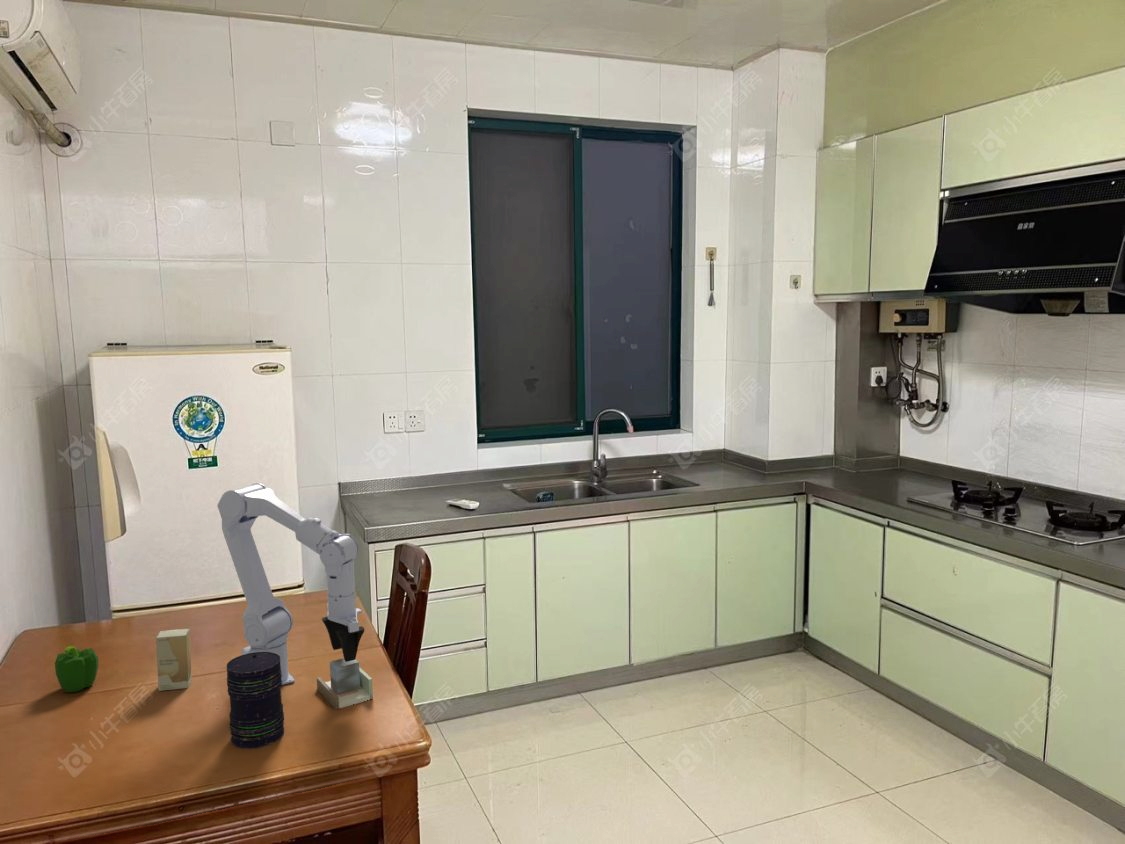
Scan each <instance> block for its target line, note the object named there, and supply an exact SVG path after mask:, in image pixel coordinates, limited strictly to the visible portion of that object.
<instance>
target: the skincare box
mask: <svg viewBox="0 0 1125 844" xmlns="http://www.w3.org/2000/svg"><path fill="white" fill-rule="evenodd" d="M155 639H156V662H157V664H156V665H157V666H156V667H157V686H158V691H160V692H163V691H169V690H182V689H189V687H190V686H191V683H192V679H193V678H192V657H191V654H192V653H191V631H190V628H181V629H169V630H168V629H167V630H159V632H158V634H156V638H155Z"/></svg>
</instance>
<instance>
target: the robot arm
mask: <svg viewBox="0 0 1125 844" xmlns="http://www.w3.org/2000/svg"><path fill="white" fill-rule="evenodd" d="M217 508H218V511H219V515H220V518H221V530H222V533H223V537H224V539H225V541H226V542H225V543H226V546H227V548H228V552H229V555H230V557H231V560H232V562H233V566H234V568H235V572H236V575H237V578H238V581H239V583H240V586H241V588H242V591H243V595H244V598H245V601H246V603H247V606H246V609H245V610H244V612H243V615H242V617H241V619H242V622H243V636H244V638H245V641H246V642H247V643H248V646H246V647H243V648H241V653H240V654H241V655H244V654H249V653H255V652H271V653H275V654H278V655H279V656H280V664H281V671H282V678H281V680H282V686H283V685H288V684H291V683H294V682H295V678H294V677H293V676H292V674H291V673H290V672H289V660H288V659H289V657H288V655H289V654H288V640H287V639H288V638H289V633H290V631H291V630H292V629H293V625H294V619H293V616H292V614H291V612H290V610H288V608H287V607H286V606H285V603H284V600H282V599H281V598H278V597H277V596H274V595H273V592H272V589H271V584H270V582H269V580H268V578H267V577H268V576H267V575H266V571H265V568H264V565H263V563H262V559H261V557H260V554H259V551H258V549H257V545H256V542H255V538H254V536H253V533H252V527H253V525H254V523H255V521H256V519H258V518H259V517H260V516H261V517H262V516H264V517H265V516H266V517H267V518H269V519H272V520H273V521H274V522H277V523H278V524H280V525H282V526H284V527H285V528H287V529H289V530H291V532H293V533H294V534H295V538H296V541H298V542H299V543H301V544H302V545H304V546H305V547H307V548H308V549H310V550H311V551H313V552H315V553H316V554H318V555H319V559H320V561H321V563H322V564H323V567H324V572H325V574H326V587H327V588H326V590H327V591H326V592H327V604H326V612H327V613H326V614H327V616H324V617H322V618H321V620H322V622H323V624H324V626H325V629H326V631H327V633H328V637H329V640H330V643H331V647H332V650H333V651H336V650H340V649H342V650H341V651H342V656H343V658H344V659H345V661H346V662H348V661H352V660H355V659H356V657H357V654H358V653H357V652H358V649H359V645H360V642H361V638H362V636H363V634H364V633H365V627H363V626H361V625H360V623H359V622H360V621H358V615H361V614H362V609H360V608H358V607H357V606H356V605H357V602H356V601H357V600H356V579H355V577H356V576H355V559H356V558H357V556H358V555H359V553H360V549H359V547H360V546H359V543H358V541H357V540H356V538H354V537H353V536H352V535H351V534H350V533H342V534H341V533H339V531H337V530H333V529H332V528H330V527H328V526H327V525H325V524H324V523H322V519H320V518H319V517H308V518H305V517H303V516H302V515H301V514H300V513H298V512H297V511H296V510H294V509H293V508H291V506H289V505H287V504H286V503H285V502H284V501H282V500H281V499H280V498H278V497H277V496H276V494H275V493H274V490H273V489H271V488H268V487H267V486H266V485H265V484H263V483H260V482H256V483H251V484H249V485H247V486H243V487H240V488H239V487H238V488H236V489H229V490H227V491H225V492H224V493H223V494H222V495H221V497H220V499H219V501H218V503H217ZM241 655H240V656H241ZM356 660H357V659H356Z"/></svg>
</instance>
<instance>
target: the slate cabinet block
mask: <svg viewBox="0 0 1125 844" xmlns="http://www.w3.org/2000/svg"><path fill="white" fill-rule="evenodd" d="M359 667H360V662H359V661H358V659H355V660H352V661H348V662H346V661H345V659H344V657H343V658H337V659H336V660H331V661H329V672H330V673H329V675H330V681H331V689H332V690H333V691H334V692H335V693H336V694H337V695H340V694H343V693H347V692H351V691H354V690H358V689H360V672H359Z"/></svg>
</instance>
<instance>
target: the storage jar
mask: <svg viewBox="0 0 1125 844" xmlns="http://www.w3.org/2000/svg"><path fill="white" fill-rule="evenodd" d="M281 678H282V671H281V664H280V656H279V655H278V654H275V653H271V652H255V653H249V654H244V655H238V656H236V657H234V658H232V659H230V660H229V661H228V662H227V663H226V685H227V694H228V696H229V704H230V712H229V729H230V735H231V737H230V739H231V740H230V742H231V744H232V745H233V746H234V747H236V748H238V749H242V750H243V749H245V750H250V749H251V750H254V749H259V748H264V747H268V746H270V745H273V744H274V743H276V742H278V741H280V740H281V739H282V738H283V736H285V735H284V734H285V727H284V725H285V722H284V721H285V712H284V706H283V705H284V704H283V703H282V689H281V688H282V687H283V685H282V680H281Z"/></svg>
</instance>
